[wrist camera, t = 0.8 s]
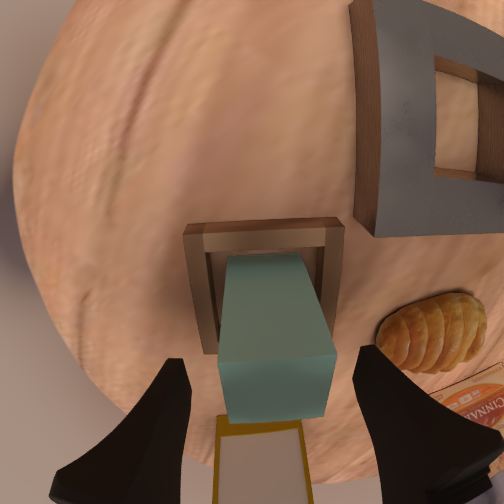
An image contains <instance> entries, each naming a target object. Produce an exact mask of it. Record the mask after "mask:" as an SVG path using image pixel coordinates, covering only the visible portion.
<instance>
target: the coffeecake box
mask: <svg viewBox="0 0 504 504" xmlns="http://www.w3.org/2000/svg"><path fill="white" fill-rule="evenodd" d="M429 396H431V397H432V398H434V399H435V400H437V401H438V402H439V403H441V404H442V405H444V406H446V407H447V408H449V409H450V410H452V411H454V412H456V413H458V414H459V415H461V416H463V417H465V418H467V419H469V420H472V421H474V422H476V423H479V424H481V425H484V426H487V427H490V428H493V429H496V430H499V431H500V433H501V435H502V437H503V438H504V367H503V366H502V364H501V363H498V364H496V365H495V366H493V367H491V368H489V369H487V370H485V371H483V372H481V373H479V374H477V375H475V376H472V377H470V378H468V379H466V380H464V381H462V382H460V383H457V384H455V385H452V386H450V387H448V388H445V389H443V390H440V391H438V392H435V393H433V394H430V395H429ZM489 467H490V469H491V472H490V473H489V474H488V476H489V478H491V477H492V476H494V475H495V474H497V473H498V472H500V471H501V470H503V469H504V452H503V453H502V454H501V455H500V456H499V457H498V458H497V459H496V460H494V461H493V462H492V463H491V464H490V465H489Z"/></svg>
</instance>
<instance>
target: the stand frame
mask: <svg viewBox="0 0 504 504" xmlns="http://www.w3.org/2000/svg"><path fill="white" fill-rule="evenodd" d="M344 231H345V226H344V225H343V224H342V223H341V222H340V221H339V219H338V218H337V217H325V218H297V219H274V220H253V221H235V222H217V223H202V224H188V225H187V227H186V229H185V231H184V233H183V242H184V249H185V255H186V261H187V268H188V274H189V280H190V286H191V291H192V297H193V303H194V308H195V313H196V319H197V324H198V329H199V334H200V339H201V344H202V348H203V353H204V354H218V351H219V340H220V329H221V327H219V322H218V315H217V308H216V300H215V293H214V285H213V277H212V269H211V261H210V253H209V252H222V251H241V250H261V249H280V248H299V247H318V249H317V267H316V283H315V293H316V296H317V298H318V301H319V304H320V307H321V309H322V312H323V315H324V317H325V320H326V323H327V326H328V329H329V331H330V334H331V337H332V336H333V329H334V323H335V316H336V308H337V301H338V293H339V284H340V275H341V266H342V255H343V244H344Z"/></svg>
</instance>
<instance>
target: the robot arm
mask: <svg viewBox="0 0 504 504" xmlns="http://www.w3.org/2000/svg"><path fill="white" fill-rule="evenodd" d="M352 380H353V384H354V389H355V393H356V397H357V401H358V403H359V406H360V409H361V412H362V414H363V417H364V420H365V423H366V425H367V428H368V431H369V434H370V436H371V439H372V443H373V446H374V450H375V455H376V459H377V464H378V470H379V476H380V482H381V491H382V501H383V504H504V469H503V470H501V471H500V472H498V473H497V474H495V475H494V476H492V477H491V478H489V476H488V474H489V473H490V472H491V469H490V467H489V465H490V464H491V463H492V462H493V461H494V460H496V459H497V458H498V457H499V456H500V455H501V454H502V453H503V452H504V438H503V437H502V435H501V433H500V431H499V430H496V429H493V428H490V427H487V426H484V425H481V424H479V423H476V422H474V421H472V420H469V419H467V418H465V417H463V416H461V415H459V414H458V413H456V412H454V411H452V410H450V409H449V408H447V407H446V406H444V405H442V404H441V403H439V402H438V401H437V400H435V399H434V398H432V397H431V396H429V395H428V394H427V393H426V392H424V391H423V390H422V389H421V388H419V387H418V386H417V385H416V384H415V383H413V382H412V381H411V380H410V379H409V378H408V377H407V376H406V375H405V374H404V373H403V372H402V371H400V370H399V369H398V368H397V367H396V366H395V365H394V364H393V363H392V362H391V361H390V360H389V359H388V358H387V357H386V356H385V355H384V354H383V353H382V352H381V351H380V350H379V349H378V348H377V347H376V346H375V345H374V344H372V345H366V346H361V347H360V351H359V355H358V359H357V363H356V366H355V370H354V374H353V377H352ZM191 396H192V389H191V385H190V382H189V379H188V375H187V372H186V368H185V365H184V361H183V359H182V358H168V359H167V360H166V361H165V363H164V365H163V366H162V368H161V369H160V371H159V373H158V374H157V376H156V377H155V379H154V380H153V382H152V383H151V385H150V386H149V388H148V389H147V390H146V392H145V393H144V395H143V396H142V397H141V399H140V400H139V401H138V403H137V404H136V405H135V406H134V408H133V409H132V410H131V411H130V413H129V414H128V415H127V416H126V417H125V418H124V419H123V421H122V422H121V423H120V424H119V425H118V426H117V427H116V428H115V429H114V430H113V431H112V432H111V433H110V434H109V435H107V436H106V437H105V438H104V439H103V440H102V441H101V442H100V443H98V444H97V445H96V446H95V447H93V448H92V449H91V450H89V451H88V452H87V453H85V454H84V455H83V456H81V457H80V458H78V459H77V460H75V461H73V462H72V463H70V464H68V465H67V466H65V467H63V468H61V469H59V470H58V471H57V472H56V474H55V477H54V479H53V483H52V486H51V490H50V493H49V498H50V499H51V500H52V501H54V502H55V503H57V504H180V487H181V486H180V484H181V463H182V455H183V450H184V444H185V439H186V433H187V428H188V422H189V417H190V411H191Z"/></svg>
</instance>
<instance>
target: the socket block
mask: <svg viewBox="0 0 504 504" xmlns="http://www.w3.org/2000/svg"><path fill="white" fill-rule="evenodd" d="M349 11H350V19H351V29H352V39H353V51H354V65H355V83H356V117H357V145H356V181H355V201H354V216H353V217H354V218H355V219H356V220H357V221H358V222H359V223H360V224H361V225H362V226H363V227H364V228H365V229H366V230H367V231H368V232H369V233H370V234H371V235H372V236H373V237H374V238H378V237H402V236H427V235H454V234H483V233H504V38H503V37H502V36H500V35H498V34H496V33H495V32H493V31H491V30H489V29H487V28H485V27H483V26H481V25H479V24H477V23H475V22H473V21H471V20H469V19H467V18H465V17H463V16H460V15H458V14H456V13H454V12H451V11H449V10H446V9H444V8H441V7H439V6H436V5H433V4H431V3H428V2H425V1H422V0H354V1H353V2H352V3H351V4H350V5H349ZM435 70H438V71H442V72H445V73H448V74H452V75H455V76H458V77H461V78H464V79H467V80H470V81H472V82H475V83H478V93H479V138H478V155H477V168H476V172H469V171H461V170H452V169H443V168H434V164H435V148H436V83H435Z"/></svg>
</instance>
